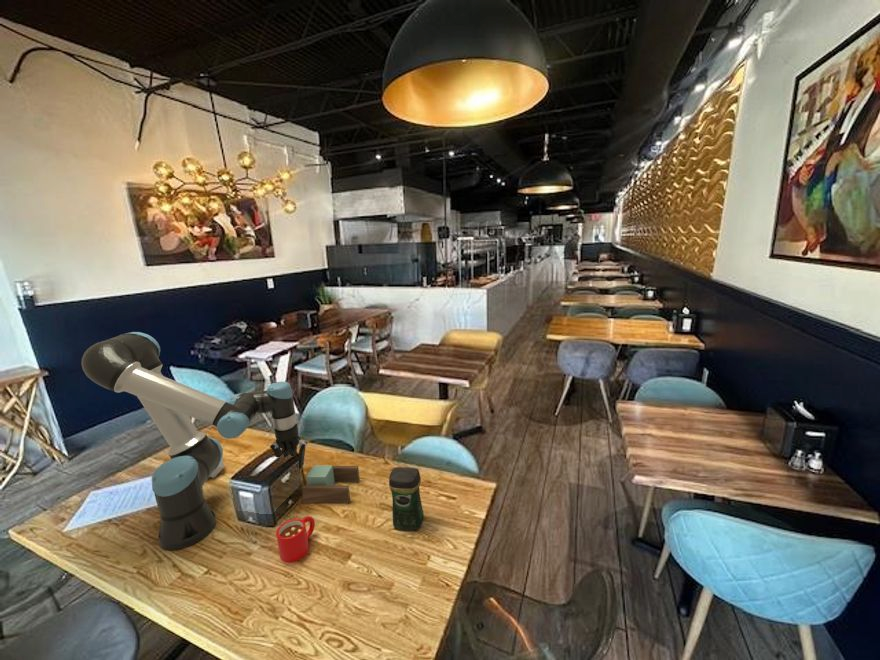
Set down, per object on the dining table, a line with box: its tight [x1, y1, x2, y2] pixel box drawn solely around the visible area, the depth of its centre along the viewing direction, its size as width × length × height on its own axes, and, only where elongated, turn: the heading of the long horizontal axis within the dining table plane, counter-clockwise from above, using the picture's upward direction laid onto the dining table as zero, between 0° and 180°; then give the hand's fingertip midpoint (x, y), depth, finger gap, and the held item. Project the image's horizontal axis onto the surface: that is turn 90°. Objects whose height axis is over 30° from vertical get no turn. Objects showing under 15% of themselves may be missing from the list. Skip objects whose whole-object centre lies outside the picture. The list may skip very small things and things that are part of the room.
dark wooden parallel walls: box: [300, 465, 360, 505], centre depth 133 cm, size 13×17×6 cm
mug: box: [275, 515, 316, 564], centre depth 109 cm, size 8×12×8 cm, turn 154°
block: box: [305, 464, 336, 485], centre depth 133 cm, size 7×7×8 cm
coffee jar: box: [388, 466, 425, 531], centre depth 115 cm, size 10×8×19 cm
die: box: [209, 456, 226, 479], centre depth 147 cm, size 8×9×10 cm
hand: (295, 484), depth 134 cm, fingers closed
